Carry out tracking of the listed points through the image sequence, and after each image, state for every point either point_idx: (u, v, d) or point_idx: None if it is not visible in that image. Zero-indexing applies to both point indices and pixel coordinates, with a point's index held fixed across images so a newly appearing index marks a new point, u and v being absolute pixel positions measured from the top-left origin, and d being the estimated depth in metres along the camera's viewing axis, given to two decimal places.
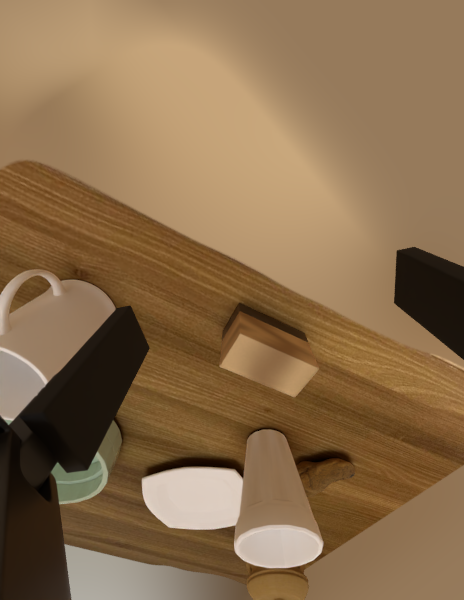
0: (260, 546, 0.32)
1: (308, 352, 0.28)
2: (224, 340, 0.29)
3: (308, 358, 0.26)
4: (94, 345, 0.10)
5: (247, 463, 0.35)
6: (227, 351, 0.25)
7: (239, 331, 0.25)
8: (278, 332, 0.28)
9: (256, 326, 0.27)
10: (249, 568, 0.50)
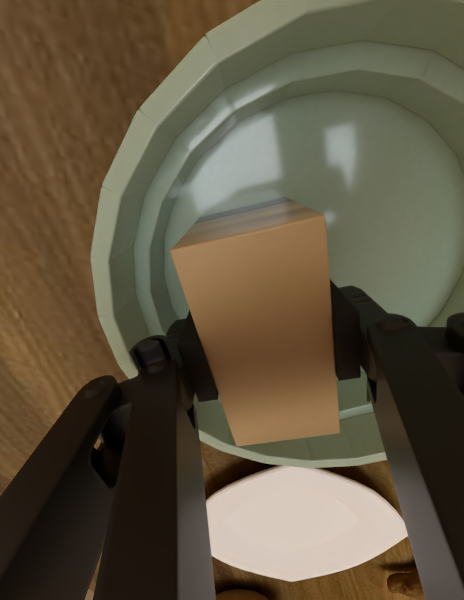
0: None
1: None
2: (208, 223, 0.11)
3: None
4: None
5: None
6: (229, 233, 0.08)
7: (315, 213, 0.07)
8: None
9: None
10: None
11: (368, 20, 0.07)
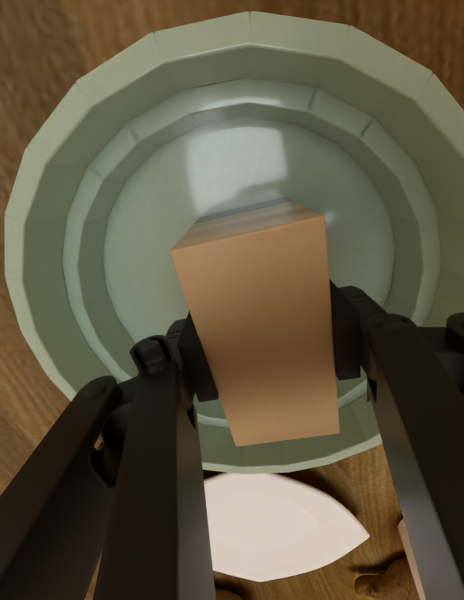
0: None
1: None
2: (208, 223, 0.11)
3: None
4: None
5: None
6: (229, 234, 0.08)
7: (315, 213, 0.07)
8: None
9: None
10: None
11: (235, 64, 0.08)
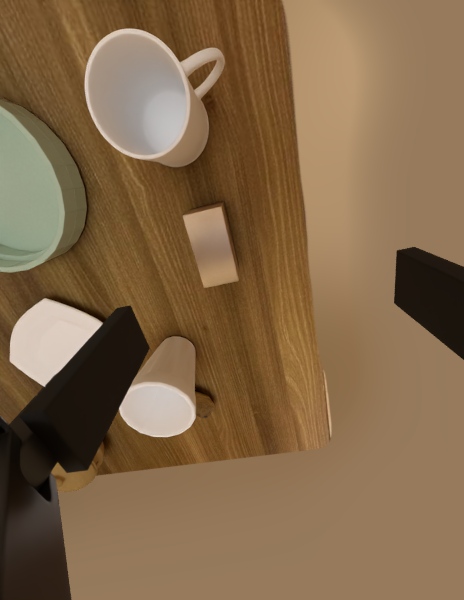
0: (132, 407, 0.35)
1: (237, 269, 0.34)
2: (194, 210, 0.32)
3: (237, 270, 0.32)
4: (94, 345, 0.10)
5: (165, 349, 0.39)
6: (198, 211, 0.29)
7: (220, 205, 0.29)
8: (231, 241, 0.33)
9: (226, 220, 0.31)
10: None
11: None
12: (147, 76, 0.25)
